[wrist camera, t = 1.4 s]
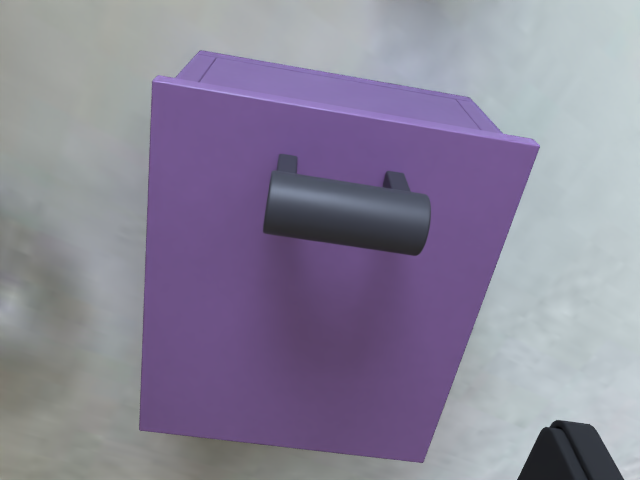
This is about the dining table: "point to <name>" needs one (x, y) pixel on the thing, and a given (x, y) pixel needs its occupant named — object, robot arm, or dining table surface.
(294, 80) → the file box
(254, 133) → the lid
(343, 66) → the dining table surface
